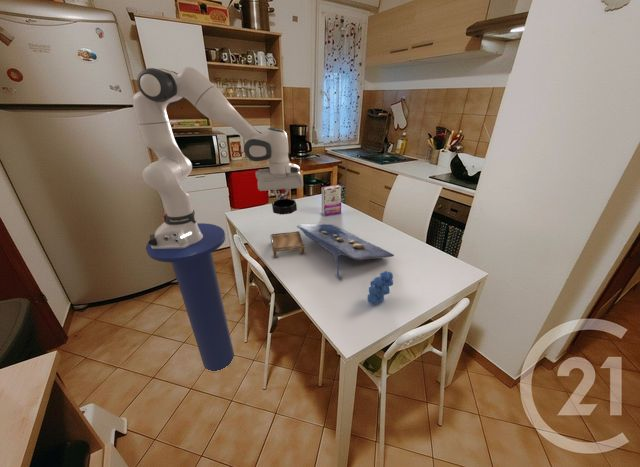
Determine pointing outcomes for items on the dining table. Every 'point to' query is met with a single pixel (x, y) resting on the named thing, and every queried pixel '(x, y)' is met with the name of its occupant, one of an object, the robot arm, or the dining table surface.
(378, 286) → the grapes
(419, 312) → the dining table surface
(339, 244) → the blue piece
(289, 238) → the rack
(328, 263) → the dining table surface
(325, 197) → the candy bar box
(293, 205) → the pan
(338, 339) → the dining table surface
